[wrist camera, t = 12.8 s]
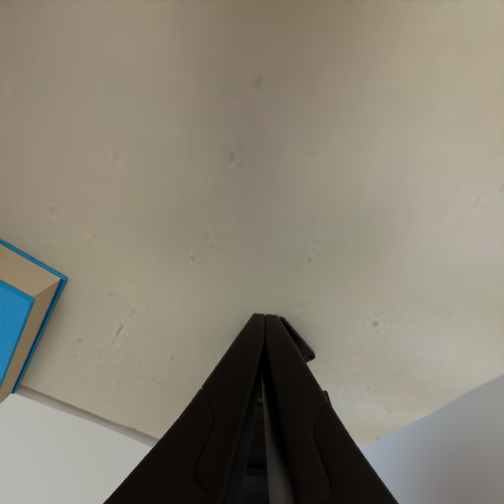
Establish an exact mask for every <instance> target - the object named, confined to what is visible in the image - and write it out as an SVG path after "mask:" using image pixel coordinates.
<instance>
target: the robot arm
mask: <svg viewBox="0 0 504 504" xmlns="http://www.w3.org/2000/svg"><path fill="white" fill-rule="evenodd" d="M314 358H315V353H314V352H313V350H312V349H311V348H310V347H309V346H308V345H307V344H306V342H305V341H304V340H303V339H302V338H301V337H300V336H299V335H298V333H297V332H296V331H295V330H294V329H293V328H292V327H291V325H290V324H289V323H288V322H287V321H286V320H285V319H284V318H282V317H278V316H277V315H271V314H267V315H266V317H265V314H259V313H254V314H253V315H252V317H251V318H250V319H249V321H248V322H247V324H246V325H245V326H244V328H243V329H242V331H241V332H240V333H239V335H238V336H237V338H236V339H235V340H234V342H233V343H232V345H231V346H230V347H229V349H228V350H227V352H226V353H225V355H224V356H223V357H222V359H221V360H220V362H219V363H218V364H217V366H216V367H215V369H214V370H213V371H212V373H211V374H210V376H209V377H208V378H207V380H206V381H205V383H204V384H203V385H202V389H199V391H198V392H197V394H196V395H195V397H194V398H193V399H192V401H191V402H190V403H189V405H188V406H187V407H186V409H185V410H184V411H183V413H182V414H181V415H180V417H179V418H178V419H177V420H176V421H175V423H174V424H173V425H172V426H171V427H170V429H169V430H168V431H167V432H166V433H165V435H164V436H163V437H162V438H161V439H160V440H159V441H158V443H157V444H156V445H155V446H154V447H153V448H152V450H151V451H150V452H149V453H148V454H147V455H146V456H145V457H144V459H143V460H142V461H141V462H140V463H139V464H138V465H137V467H136V468H135V469H134V470H133V471H132V472H131V473H130V474H129V476H128V477H127V478H126V479H125V480H124V481H123V482H122V483H121V485H120V486H119V487H118V488H117V489H116V490H115V491H114V492H113V494H112V495H111V496H110V497H109V498H108V499H107V500H106V501H105V502H104V503H103V504H399V503H398V502H397V501H396V499H395V498H394V497H393V495H392V494H391V493H390V491H389V490H388V488H387V487H386V486H385V484H384V483H383V482H382V480H381V479H380V477H379V476H378V475H377V473H376V472H375V470H374V469H373V468H372V466H371V465H370V464H369V462H368V461H367V459H366V458H365V456H364V455H363V454H362V452H361V451H360V449H359V448H358V446H357V445H356V444H355V442H354V441H353V439H352V438H351V436H350V435H349V433H348V432H347V430H346V428H345V427H344V425H343V424H342V422H341V421H340V419H339V417H338V416H337V414H336V412H335V411H334V409H333V407H332V405H331V402H330V399H329V396H328V393H327V391H322V389H321V387H320V386H319V384H318V382H317V381H316V379H315V377H314V376H313V374H312V372H311V371H310V369H309V367H308V366H307V364H306V362H308V361H311V360H313V359H314Z"/></svg>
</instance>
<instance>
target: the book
mask: <svg viewBox="0 0 504 504" xmlns="http://www.w3.org/2000/svg"><path fill="white" fill-rule="evenodd" d="M66 280H67V277H65V276H63V275H61V274H60V273H58V272H56V271H54V270H53V269H51V268H49V267H47V266H46V265H44V264H42V263H40V262H39V261H37V260H35V259H33V258H32V257H30V256H28V255H26V254H25V253H23V252H21V251H19V250H18V249H16V248H14V247H13V246H11V245H9V244H7V243H6V242H4V241H2V240H0V403H1V402H2V401H3V400H4V399H5V398H6V397H8V396H9V395H10V394H11V393H12V394H14V393H15V392H16V390H17V388H18V386H19V384H20V381H21V379H22V377H23V375H24V373H25V370H26V368H27V366H28V364H29V362H30V359H31V357H32V355H33V353H34V351H35V348H36V346H37V344H38V342H39V339H40V337H41V335H42V333H43V331H44V328H45V326H46V324H47V322H48V320H49V317H50V315H51V313H52V311H53V309H54V306H55V304H56V302H57V300H58V297H59V295H60V293H61V291H62V289H63V286H64V284H65V282H66Z"/></svg>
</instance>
